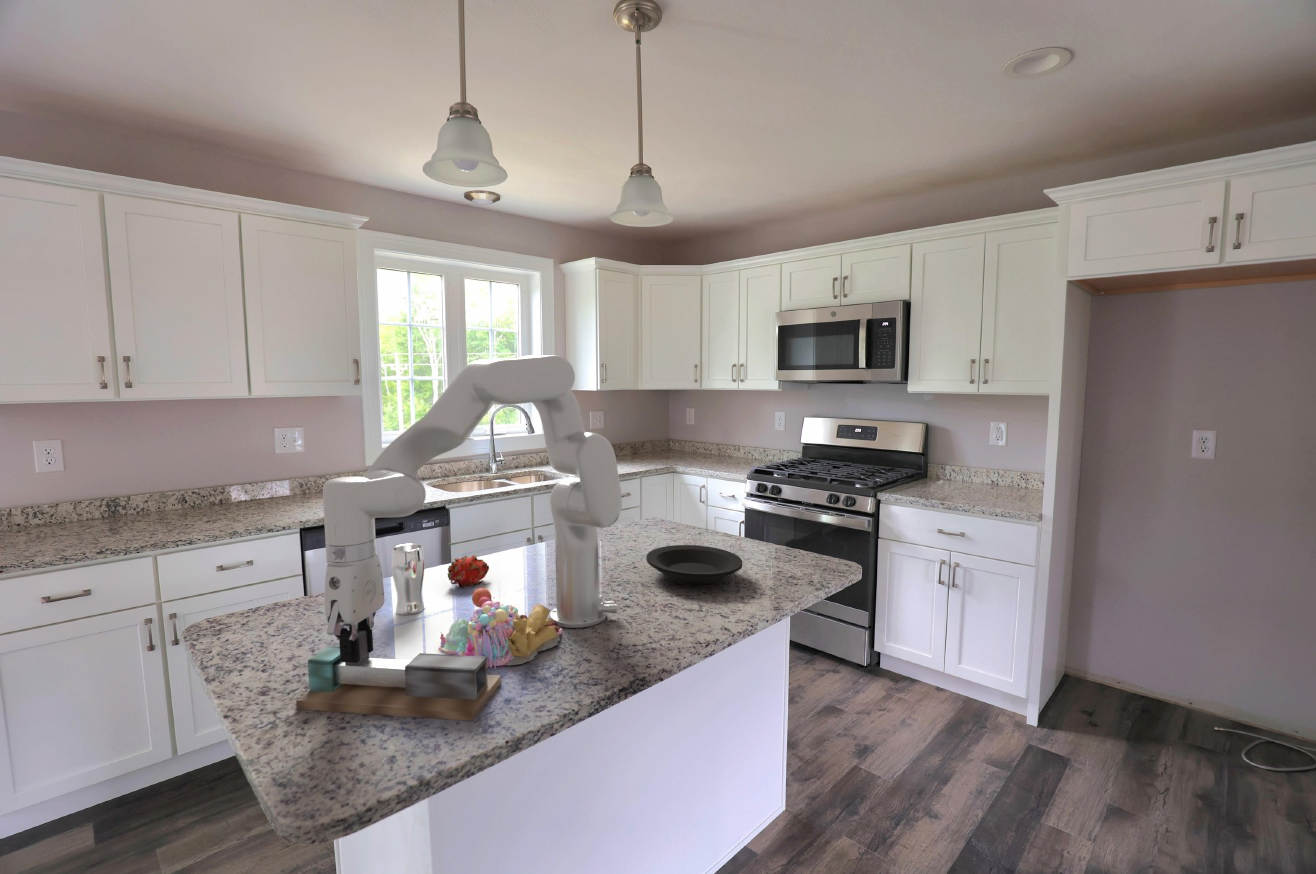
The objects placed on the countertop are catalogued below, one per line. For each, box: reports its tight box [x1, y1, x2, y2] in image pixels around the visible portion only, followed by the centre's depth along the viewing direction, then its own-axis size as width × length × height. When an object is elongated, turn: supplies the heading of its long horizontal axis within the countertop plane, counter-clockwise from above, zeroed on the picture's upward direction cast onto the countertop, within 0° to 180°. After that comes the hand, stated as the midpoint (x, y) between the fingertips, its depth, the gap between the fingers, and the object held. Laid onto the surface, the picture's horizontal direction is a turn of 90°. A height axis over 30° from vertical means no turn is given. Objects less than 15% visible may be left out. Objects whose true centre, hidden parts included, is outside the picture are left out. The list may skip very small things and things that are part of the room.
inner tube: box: [332, 630, 413, 688], centre depth 105 cm, size 19×3×8 cm, turn 83°
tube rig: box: [295, 645, 502, 722], centre depth 105 cm, size 30×12×7 cm, turn 83°
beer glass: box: [391, 543, 425, 616], centre depth 143 cm, size 7×7×15 cm
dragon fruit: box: [447, 555, 490, 588], centre depth 162 cm, size 8×8×12 cm
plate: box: [646, 544, 743, 586], centre depth 166 cm, size 28×24×6 cm
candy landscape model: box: [438, 587, 563, 670], centre depth 126 cm, size 25×24×9 cm
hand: (357, 655), depth 106 cm, fingers closed on inner tube, 3 cm apart
